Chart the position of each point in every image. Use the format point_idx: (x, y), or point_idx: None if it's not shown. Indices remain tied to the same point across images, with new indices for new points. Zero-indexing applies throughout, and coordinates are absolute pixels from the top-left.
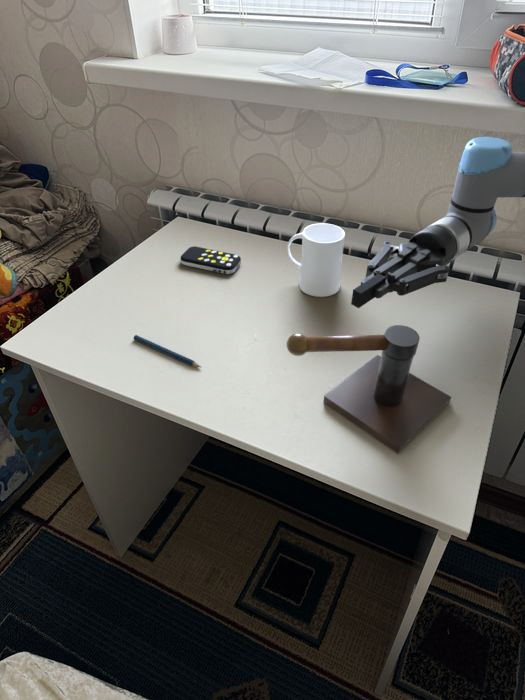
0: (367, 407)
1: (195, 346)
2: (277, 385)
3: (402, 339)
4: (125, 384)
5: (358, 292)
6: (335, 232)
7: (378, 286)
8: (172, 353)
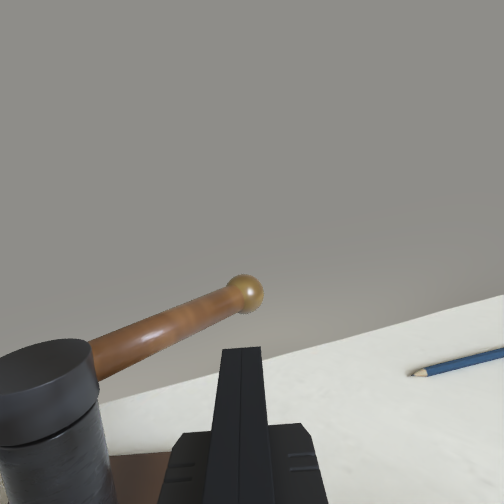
0: (125, 489)
1: (481, 392)
2: (313, 433)
3: (33, 355)
4: (411, 327)
5: (234, 348)
6: None
7: (205, 459)
8: (456, 359)
